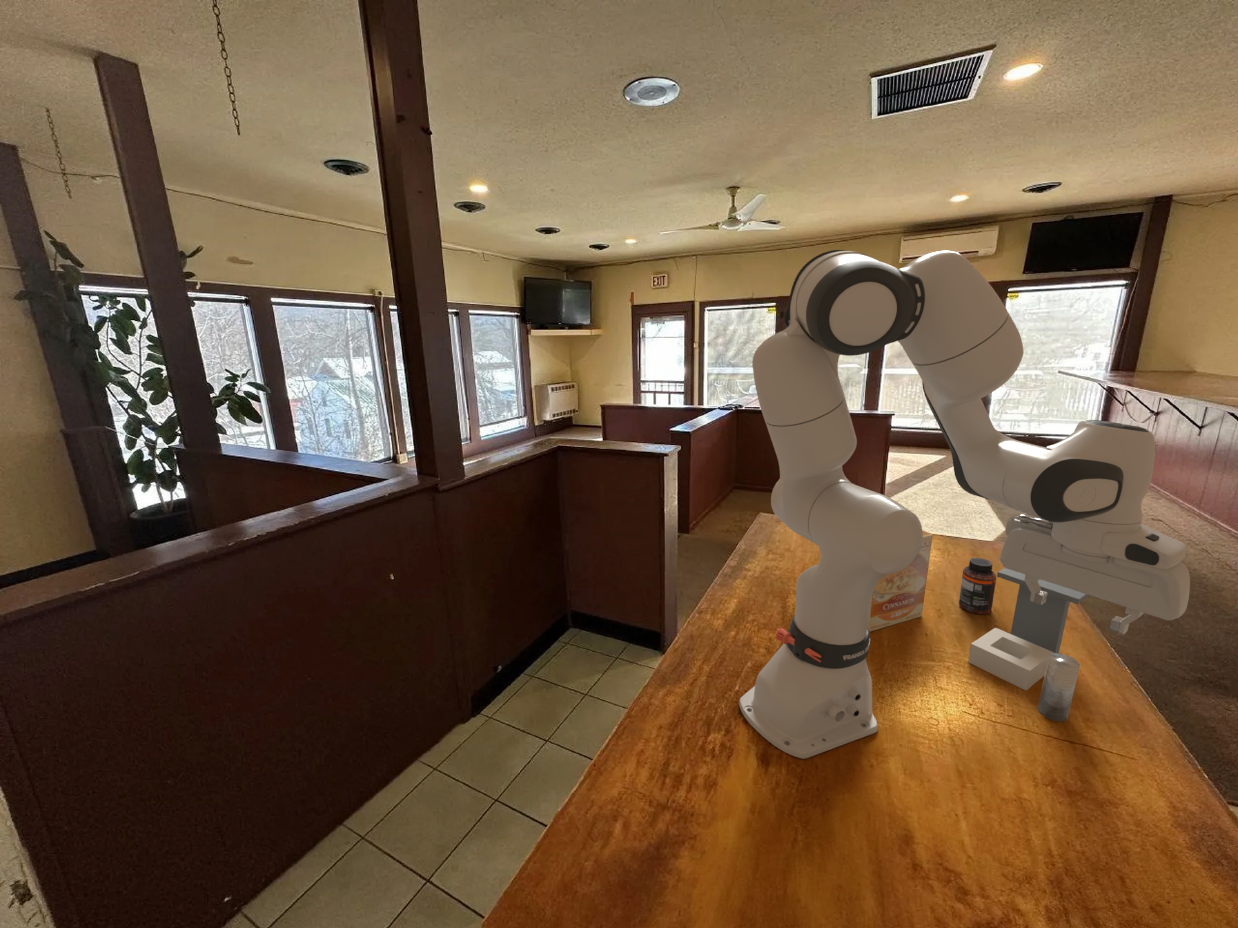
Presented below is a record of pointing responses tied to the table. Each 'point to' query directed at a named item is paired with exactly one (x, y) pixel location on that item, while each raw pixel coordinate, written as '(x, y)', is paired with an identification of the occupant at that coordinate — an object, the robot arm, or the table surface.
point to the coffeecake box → (901, 591)
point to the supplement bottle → (977, 586)
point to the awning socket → (1026, 634)
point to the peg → (1058, 686)
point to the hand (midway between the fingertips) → (1075, 615)
